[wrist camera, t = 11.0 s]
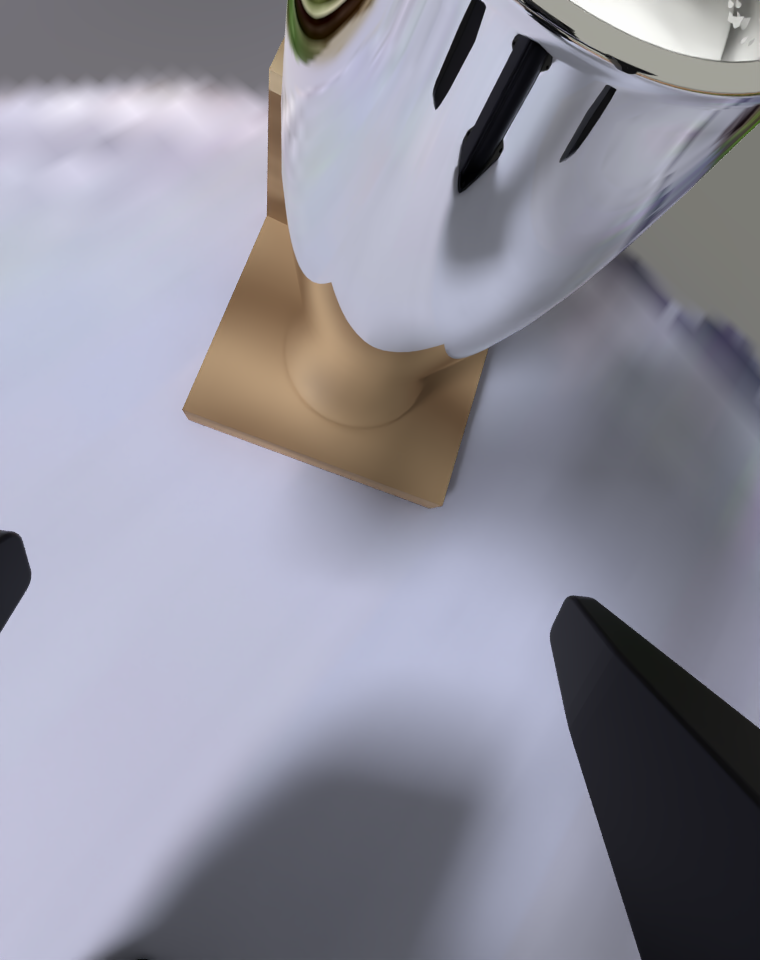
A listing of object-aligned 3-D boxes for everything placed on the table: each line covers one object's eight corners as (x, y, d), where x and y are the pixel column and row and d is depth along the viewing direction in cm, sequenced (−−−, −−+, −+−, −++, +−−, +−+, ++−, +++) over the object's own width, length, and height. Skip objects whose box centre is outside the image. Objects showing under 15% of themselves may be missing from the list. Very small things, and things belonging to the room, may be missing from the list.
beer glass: (427, 451, 19) (915, 195, 5) (261, 423, 18) (232, -85, 3) (442, 301, 20) (879, -285, 6) (286, 262, 19) (350, -669, 4)
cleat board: (429, 508, 21) (522, 492, 13) (188, 419, 18) (140, 341, 11) (488, 311, 23) (596, 204, 15) (278, 211, 20) (287, 31, 13)
